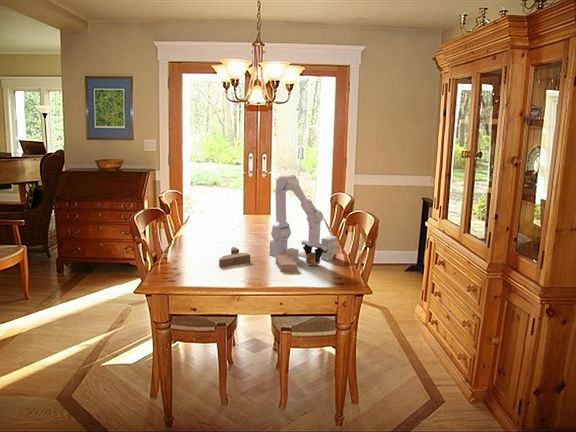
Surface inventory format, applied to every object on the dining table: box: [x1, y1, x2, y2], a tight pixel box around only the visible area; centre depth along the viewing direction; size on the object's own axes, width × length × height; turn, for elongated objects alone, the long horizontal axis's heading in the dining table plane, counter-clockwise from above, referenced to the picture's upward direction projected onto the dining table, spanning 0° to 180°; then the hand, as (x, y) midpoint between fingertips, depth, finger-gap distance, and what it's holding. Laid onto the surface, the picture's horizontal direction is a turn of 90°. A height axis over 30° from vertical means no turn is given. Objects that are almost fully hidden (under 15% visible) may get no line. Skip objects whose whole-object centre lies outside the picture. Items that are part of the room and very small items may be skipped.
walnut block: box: [305, 251, 321, 266], centre depth 252 cm, size 5×5×5 cm
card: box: [298, 251, 306, 259], centre depth 270 cm, size 7×10×1 cm
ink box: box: [320, 235, 338, 262], centre depth 263 cm, size 9×5×12 cm, turn 141°
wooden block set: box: [218, 246, 251, 268], centre depth 255 cm, size 17×6×18 cm
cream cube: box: [285, 247, 300, 261], centre depth 262 cm, size 5×5×5 cm
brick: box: [275, 254, 298, 273], centre depth 247 cm, size 17×8×5 cm, turn 11°
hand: (313, 260), depth 252 cm, fingers closed on walnut block, 5 cm apart
